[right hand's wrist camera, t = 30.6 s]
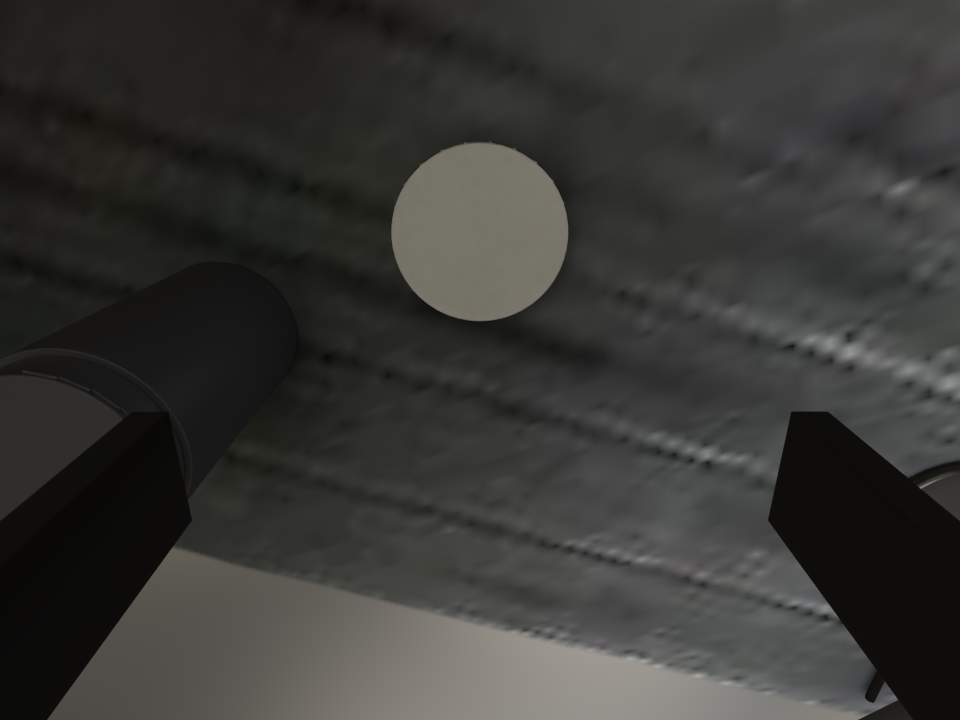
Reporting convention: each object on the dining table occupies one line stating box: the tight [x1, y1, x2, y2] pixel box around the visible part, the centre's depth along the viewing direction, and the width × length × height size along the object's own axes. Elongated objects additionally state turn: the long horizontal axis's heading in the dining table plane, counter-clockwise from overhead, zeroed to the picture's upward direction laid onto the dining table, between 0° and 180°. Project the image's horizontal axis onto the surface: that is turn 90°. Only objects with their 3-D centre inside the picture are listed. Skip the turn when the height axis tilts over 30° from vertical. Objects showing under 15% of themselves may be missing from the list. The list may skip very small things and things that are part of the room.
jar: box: [0, 262, 297, 521], centre depth 34 cm, size 10×10×19 cm
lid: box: [391, 141, 568, 321], centre depth 40 cm, size 12×12×2 cm
